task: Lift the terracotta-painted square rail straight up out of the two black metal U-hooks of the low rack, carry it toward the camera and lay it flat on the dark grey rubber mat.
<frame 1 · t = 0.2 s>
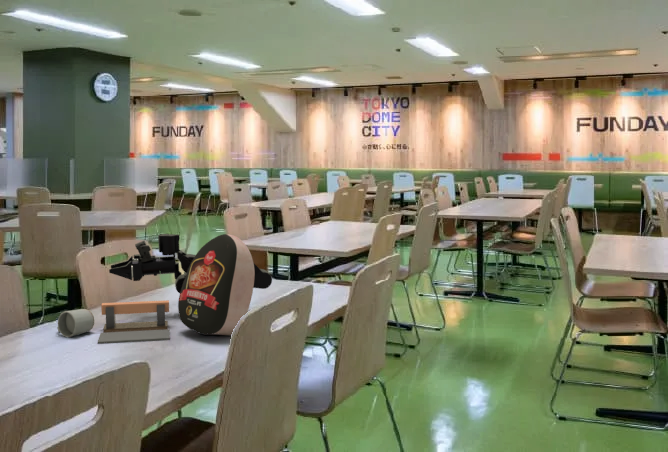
hand: (110, 268, 223), 17 cm above the table, tool horizontal, fingers open, 9 cm apart
packaged food: (217, 333, 209), on the table
rail: (135, 312, 213), point 5 cm above the table, touching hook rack
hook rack: (136, 328, 214), on the table
mat: (134, 337, 203), on the table
ceramic mug: (73, 334, 207), on the table
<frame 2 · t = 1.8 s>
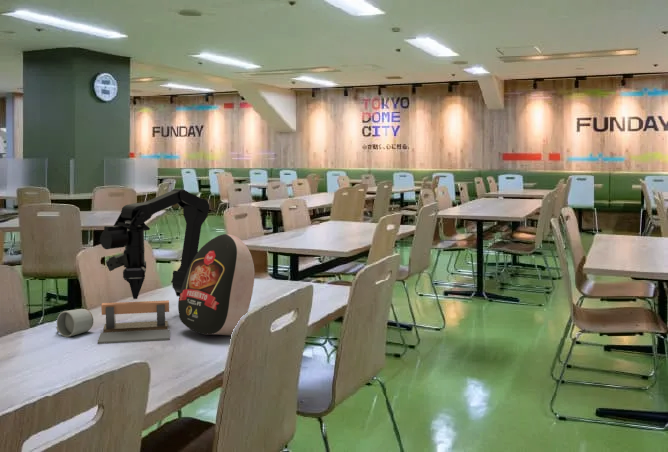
hand: (135, 295, 213), 10 cm above the table, tool pointing down, fingers open, 9 cm apart
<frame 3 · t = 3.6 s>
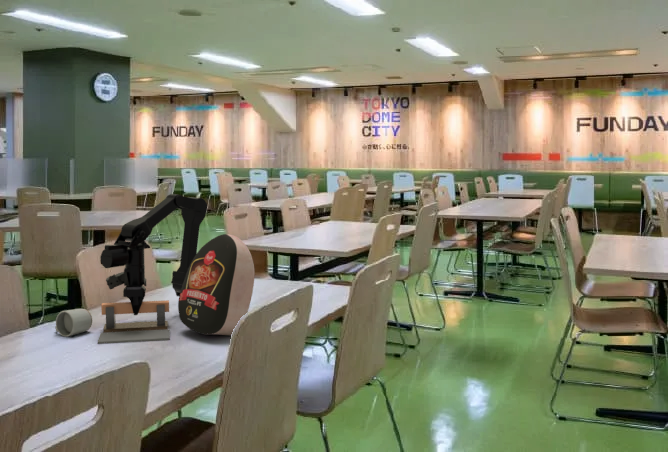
hand: (136, 313, 213), 5 cm above the table, tool pointing down, fingers closed on rail, 3 cm apart
rail: (135, 312, 213), point 5 cm above the table, touching gripper, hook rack
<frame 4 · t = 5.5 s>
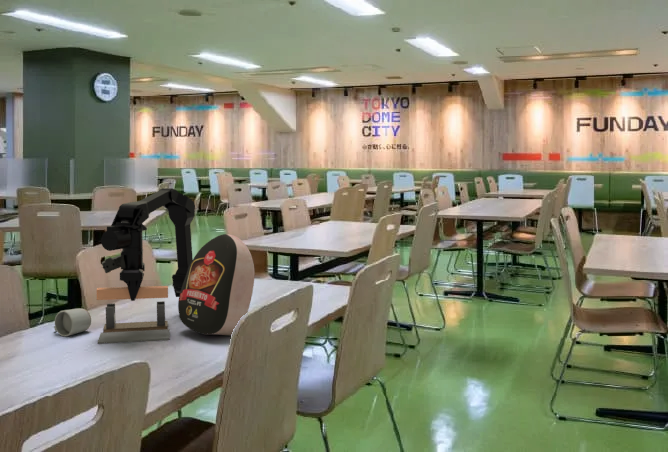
hand: (133, 299, 202), 11 cm above the table, tool pointing down, fingers closed on rail, 3 cm apart
rail: (133, 297, 202), point 12 cm above the table, touching gripper
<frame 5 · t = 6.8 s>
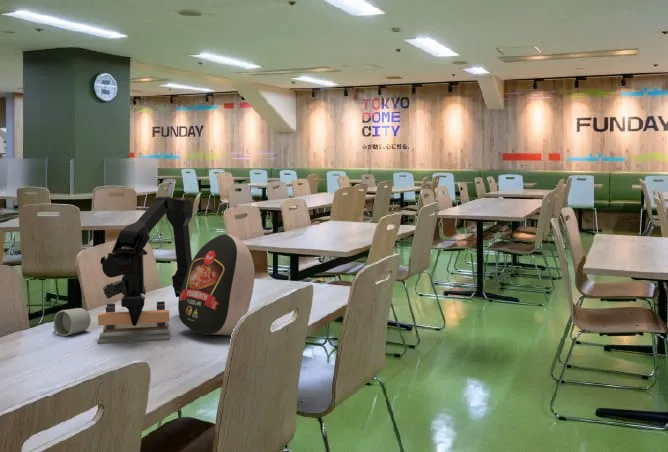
hand: (134, 324, 203), 4 cm above the table, tool pointing down, fingers closed on rail, 3 cm apart
rail: (134, 322, 203), point 4 cm above the table, touching gripper
when the fingers open (2 cm above the table, at t = 7.9 s): rail drops 2 cm, resting on mat.
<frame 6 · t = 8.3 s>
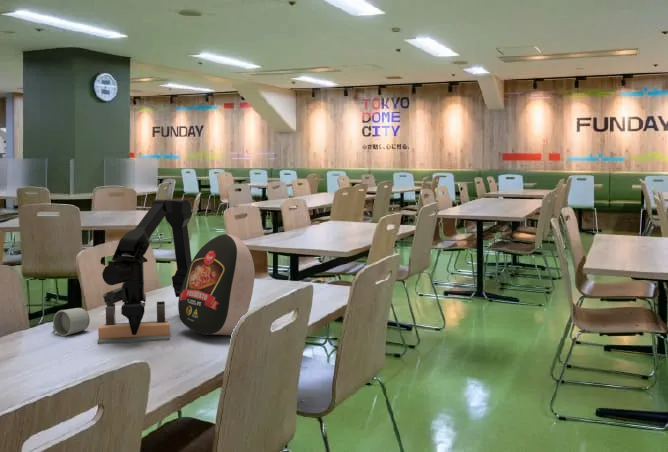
hand: (134, 331, 203), 2 cm above the table, tool pointing down, fingers open, 7 cm apart
rail: (134, 335, 203), point 1 cm above the table, touching mat
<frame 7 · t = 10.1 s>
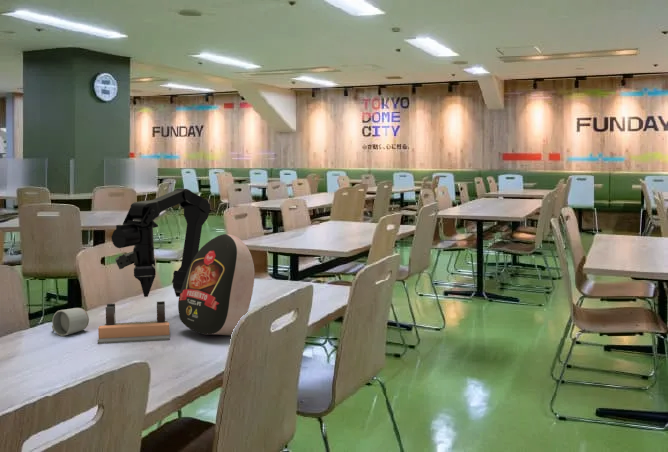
hand: (146, 293, 212), 11 cm above the table, tool pointing down, fingers open, 9 cm apart
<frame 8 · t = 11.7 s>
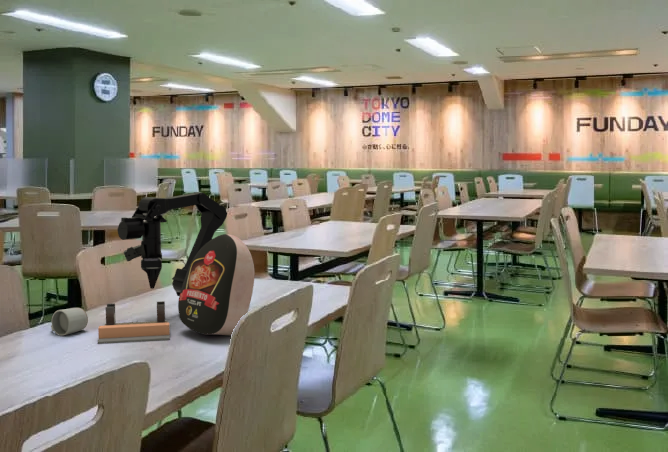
hand: (152, 285, 219), 12 cm above the table, tool pointing down, fingers open, 9 cm apart
at the end: rail inside the target area (0.1 cm from its centre), point 0.6 cm above the table; rail tilted 0°; the gripper is holding nothing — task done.
